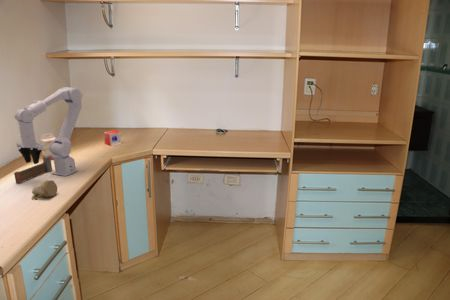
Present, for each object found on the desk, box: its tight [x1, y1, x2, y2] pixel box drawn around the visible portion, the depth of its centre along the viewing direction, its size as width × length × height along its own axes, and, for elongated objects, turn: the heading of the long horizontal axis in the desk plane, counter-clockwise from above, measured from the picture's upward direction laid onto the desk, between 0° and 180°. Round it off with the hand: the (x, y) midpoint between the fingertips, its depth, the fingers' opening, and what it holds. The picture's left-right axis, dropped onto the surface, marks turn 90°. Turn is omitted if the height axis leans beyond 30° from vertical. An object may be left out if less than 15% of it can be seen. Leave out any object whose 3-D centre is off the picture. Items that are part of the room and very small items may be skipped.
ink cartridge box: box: [39, 132, 56, 161], centre depth 206 cm, size 9×5×15 cm, turn 141°
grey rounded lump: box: [31, 179, 58, 200], centre depth 157 cm, size 8×10×10 cm
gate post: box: [41, 156, 53, 173], centre depth 187 cm, size 3×3×8 cm
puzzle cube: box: [103, 129, 123, 147], centre depth 237 cm, size 8×8×8 cm
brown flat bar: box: [13, 161, 48, 184], centre depth 178 cm, size 1×17×5 cm, turn 159°
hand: (32, 162), depth 172 cm, fingers open, 4 cm apart
